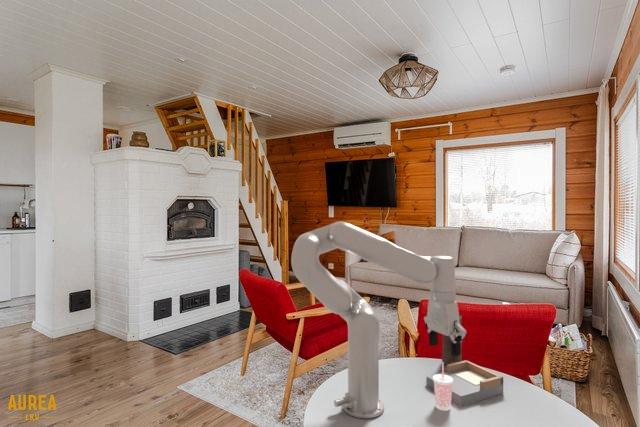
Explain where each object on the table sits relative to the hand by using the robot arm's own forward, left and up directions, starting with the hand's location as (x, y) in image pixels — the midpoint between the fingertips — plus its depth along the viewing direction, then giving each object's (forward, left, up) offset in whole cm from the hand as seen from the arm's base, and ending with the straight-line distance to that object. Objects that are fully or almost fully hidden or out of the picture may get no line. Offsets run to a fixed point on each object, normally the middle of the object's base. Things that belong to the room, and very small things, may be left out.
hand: (444, 350), depth 118 cm
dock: (+15, +6, -18) cm, 24 cm away
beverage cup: (0, 0, -18) cm, 18 cm away
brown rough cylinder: (+27, +24, -18) cm, 40 cm away
